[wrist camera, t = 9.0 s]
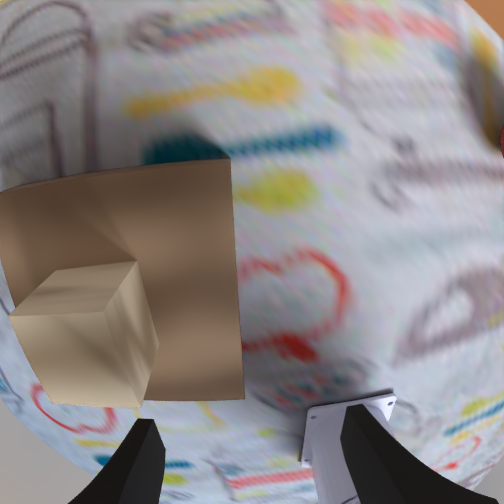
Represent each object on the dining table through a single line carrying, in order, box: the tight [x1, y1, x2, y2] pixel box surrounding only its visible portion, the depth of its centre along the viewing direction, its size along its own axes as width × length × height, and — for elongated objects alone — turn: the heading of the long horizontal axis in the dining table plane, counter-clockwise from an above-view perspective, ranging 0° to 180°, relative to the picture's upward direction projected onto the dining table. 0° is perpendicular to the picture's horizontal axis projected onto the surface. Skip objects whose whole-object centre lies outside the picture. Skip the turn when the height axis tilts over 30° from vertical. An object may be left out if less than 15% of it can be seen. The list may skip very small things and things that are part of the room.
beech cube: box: [8, 261, 159, 408], centre depth 14 cm, size 5×5×5 cm
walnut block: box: [0, 158, 245, 401], centre depth 18 cm, size 14×14×4 cm
